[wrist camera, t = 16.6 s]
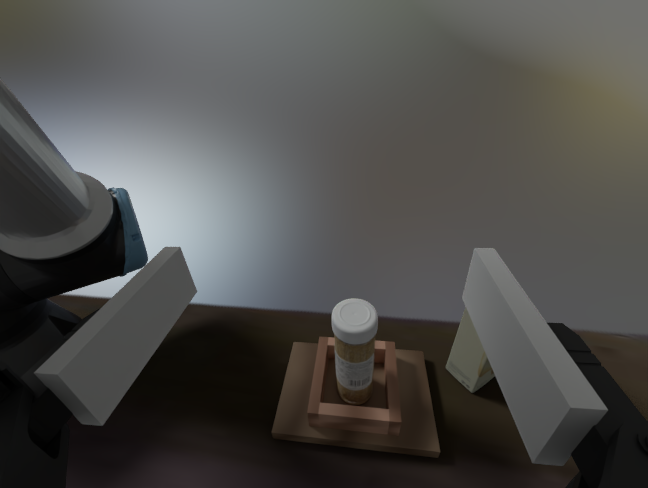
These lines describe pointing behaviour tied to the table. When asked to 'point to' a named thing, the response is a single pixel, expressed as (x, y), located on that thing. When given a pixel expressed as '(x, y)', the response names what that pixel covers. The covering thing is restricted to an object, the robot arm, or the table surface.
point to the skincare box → (469, 357)
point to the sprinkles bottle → (354, 349)
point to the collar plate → (358, 420)
